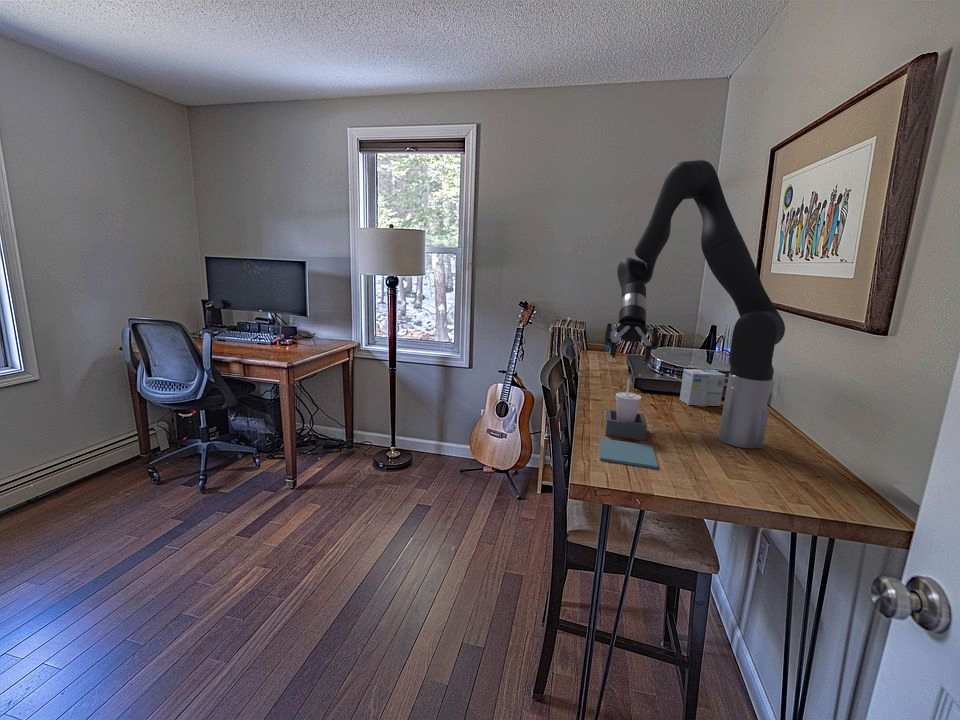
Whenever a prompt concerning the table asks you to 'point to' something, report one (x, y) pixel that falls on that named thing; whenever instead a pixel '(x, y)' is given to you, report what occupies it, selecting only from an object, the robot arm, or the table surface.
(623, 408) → the smoothie
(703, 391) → the light bulb box
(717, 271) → the robot arm
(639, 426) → the frame
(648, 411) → the table surface
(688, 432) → the table surface
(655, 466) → the coaster
